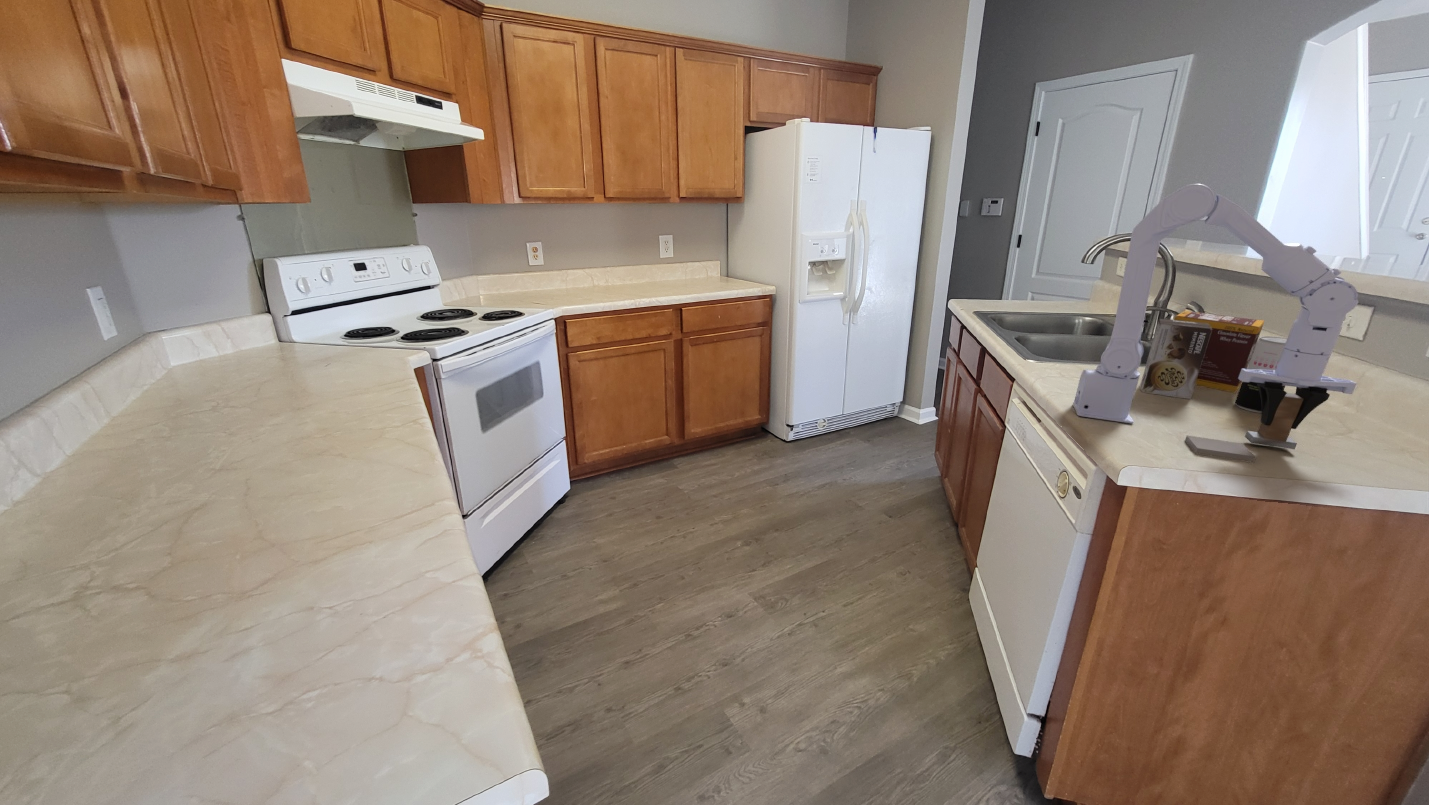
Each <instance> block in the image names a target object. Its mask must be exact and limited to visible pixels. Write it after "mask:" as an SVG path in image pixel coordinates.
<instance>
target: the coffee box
mask: <svg viewBox="0 0 1429 805" xmlns="http://www.w3.org/2000/svg"><path fill="white" fill-rule="evenodd" d="M1211 332H1212V328H1211V326H1210V325H1209V324H1208V323H1199V322H1189V321H1179V320H1174V319H1165V318H1159V319H1158V321H1157V325H1156V329H1155V332H1154V335H1153V339H1152V342H1151V346H1150V350H1149V354H1148V355H1147V356H1148V357H1147V359H1146V360H1147V361H1146V362H1145V367H1144V371H1143V376H1142V378H1141V381H1140V384H1139V385H1140V390H1141V393H1146V394H1153V395H1161V396H1166V397H1171V398H1172V397H1174V398H1180V399H1185V400H1186V399H1187V400H1191V399H1192V396H1193V393H1194V391H1195V390H1194V389H1195V386H1196V385H1195V384H1196V380H1197V377H1198V374H1199V371H1200V367H1201V364H1202V361H1203V358H1204V355H1205V351H1206V348H1207V345H1208V342H1209V339H1210V335H1211Z"/></svg>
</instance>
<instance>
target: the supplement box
mask: <svg viewBox="0 0 1429 805" xmlns="http://www.w3.org/2000/svg"><path fill="white" fill-rule="evenodd" d="M1173 320H1179V321H1189V322H1199V323H1208V324H1209V325H1210V326H1211V328H1212V332H1211V335H1210V339H1209V342H1208V345H1207V348H1206V351H1205V355H1204V358H1203V361H1202V364H1201V367H1200V371H1199V374H1198V377H1197V380H1196V384H1195V386H1199V387H1204V388H1209V389H1216V390H1220V391H1225V392H1229V393H1236V392H1237V391H1238V390H1239V389H1240V387H1241V384H1242V381H1241V380H1239V379H1238V377H1239V375H1240V372H1241V369H1247V367H1248V365H1249V362H1250V359H1251V356H1252V353H1253V351H1254V348H1255V345H1256V342H1257V340H1258V339H1259V337H1260V334H1261V332H1262V329H1263V326H1264V323H1265V320H1261V319H1254V318H1245V317H1237V316H1230V315H1223V314H1222V315H1221V314H1214V313H1208V312H1207V313H1205V312H1199V311H1191V310H1184V311H1183V310H1182V312H1180V313H1178V314H1176V315H1175V316H1174V319H1173Z"/></svg>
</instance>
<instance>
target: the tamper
mask: <svg viewBox="0 0 1429 805" xmlns="http://www.w3.org/2000/svg"><path fill="white" fill-rule="evenodd" d="M1285 392H1286V393H1287V394H1286V395H1285V397H1284V398H1283V400H1282V401H1281V403H1280V404H1279V406H1278V408H1277V410H1276V413H1275V416H1274V419H1273V422H1272V423H1271V425H1270V426H1268V425H1264V424H1263V423H1262V422H1261V421H1260V424H1259V426H1258V429H1257V431H1251V430H1246V432H1245V435H1244V438H1246V440H1248V441H1249V443H1250V444H1256V445H1262V446H1268V447H1269V446H1270V447H1276V448H1283V449H1290V450H1295V449H1296V447H1297V445H1298V442H1296V441H1295V439H1293V438H1291V437H1290V436H1289V435H1290V433H1291V431H1292V429H1291V427H1292V424H1293V422H1294V420H1295V419H1296V416H1297V414H1298V411H1299V409H1300V407H1301V404H1302V402H1303V398H1301V397H1300V396H1298V395H1297V394H1295V393H1296V392H1295V393H1294V392H1287V391H1285Z"/></svg>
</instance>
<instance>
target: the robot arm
mask: <svg viewBox="0 0 1429 805" xmlns="http://www.w3.org/2000/svg"><path fill="white" fill-rule="evenodd" d="M1204 218H1206V219H1205V220H1204V221H1203V222H1204V224H1207V225H1211V226H1216V227H1222V228H1224V229H1226V230H1228V231H1229V232H1230V233H1231V234H1233V235H1234V236H1235V237H1237V238H1238V239H1239V240H1240V241H1242V242H1243V243H1244V244H1245V245H1247V246H1248V247H1249V248H1251V250H1253V251H1254V252H1255V253H1257V254H1258V255H1259V256H1260V257H1262V264H1261V270H1262V271H1263V272H1264V273H1265V274H1266V275H1268V276H1269V278H1271V279H1272V280H1273V281H1274V282H1276V283H1277V284H1278V285H1279V286H1280V287H1282V288H1283V289H1284V290H1285V291H1287V292H1288V293H1289V294H1290V295H1291V296H1297V297H1299V298H1298V299H1299V303H1300V304H1301V305H1302V306H1300V309H1299V311H1298V314H1297V317H1296V319H1295V320H1293V323H1292V325H1291V328H1290V331H1289V334H1288V335H1287V337H1286V338H1287V341H1286V344H1285V346H1284V349H1283V351H1282V354H1281V357H1280V359H1279V362H1278V364H1277V367H1276V370H1256V369H1241V372H1240V375H1239V377H1238V379H1239V380H1241V381H1242V382H1257V386H1258V389H1259V393H1260V398H1261V406H1262V413H1260V414H1261V416H1260V423H1261V422H1262V423H1263V424H1264V425H1268V426H1270V425H1271V423H1272V422H1273V419H1274V416H1275V413H1276V410H1277V408H1278V406H1279V404H1280V403H1281V401H1282V400H1283V398H1284V397H1285V395H1286V394H1287V393H1288V392H1287V391H1285V389H1284V390H1283V387H1282V385H1284V386H1285V387H1286V386H1287V387H1292V388H1293V387H1294V388H1295V394H1297V395H1298V396H1300V397H1301V398H1303V402H1302V404H1301V407H1300V409H1299V411H1298V414H1297V416H1296V419H1295V420H1294V422H1293V424H1292V427H1291V430H1296V429H1297V428H1298V427H1299V425H1300V424H1301V423H1302V422H1303V420H1304V419H1305V418H1306V417H1307V416H1308V415H1309V414H1310V413H1311V412H1312V411H1314V410H1315V409H1316V408H1317V407H1319V406H1320V405H1322V404H1323V403H1325V402H1326V401H1328V400H1329V398H1330V397H1331V396H1330V395H1331V394H1330V393H1328V391H1329V392H1339V393H1343V394H1348V395H1353V393H1354V391H1355V389H1356V386H1357V382H1355V381H1352V380H1351V379H1344V378H1337V377H1331V376H1324V373H1325V370H1326V367H1327V365H1328V363H1329V360H1330V358H1331V356H1332V353H1333V352H1334V348H1335V345H1336V344H1337V342H1338V340H1339V336H1340V334H1341V331H1342V328H1343V323H1344V322H1345V319H1346V317H1347V314H1348V313H1349V312H1352V310H1354V309H1355V308H1356V307H1357V305H1358V304H1359V302H1360V301H1359V300H1358V297H1359V295H1358V290H1357V288H1356V287H1355V286H1354V285H1353V284H1351V283H1350V282H1348V281H1346V279H1345V278H1343V277H1341V276H1339V275H1341V274H1342V271H1340V270H1339V269H1338V268H1336V267H1335V268H1333V269H1332V268H1331V267H1329V266H1328V264H1326V263H1325V262H1323V261H1322V260H1321V259H1320V258H1319V257H1317V256H1316V255H1315V253H1317V249H1315V248H1314V247H1313V246H1311V245H1307V246H1304V245H1302V244H1301V243H1297V242H1296V243H1295V242H1294V243H1283V242H1282V241H1281V240H1279V239H1278V237H1276V236H1275V235H1274V234H1272V233H1271V232H1270V231H1269V230H1268V229H1267V228H1266V227H1264V226H1263V224H1261V223H1260V222H1259V221H1258V220H1257V219H1255V218H1254V217H1253V216H1252V215H1251V214H1250V213H1249V212H1248V211H1246V210H1245V209H1244V208H1243V207H1242V206H1240V205H1239V204H1237V203H1235V202H1234V201H1232V200H1230V199H1229V198H1227V197H1226V196H1224V195H1221V194H1219V193H1216V194H1215V193H1214V190H1212V189H1211V188H1210V187H1209V186H1207V185H1205V184H1203V183H1202V184H1201V183H1191V184H1188V185H1184V186H1182V187H1180V188H1178V189H1177V190H1175V191H1173V192H1171V193H1170V194H1168V195H1166V196H1164V197H1163V198H1162V199H1161V200H1160V201H1159V202H1158V204H1156V205H1155V206H1154V207H1153V208H1152V209H1151V210H1150V211H1149V212H1148V213H1147V214H1146V215H1145V216H1144V217H1143V218H1142V219H1141V220H1140V221H1139V222H1138V223H1137V224H1136V225H1135V227H1134V228H1133V230H1132V232H1131V236H1130V242H1129V247H1128V252H1127V256H1126V263H1125V267H1124V272H1123V278H1122V283H1121V288H1120V292H1119V293H1120V294H1119V299H1118V304H1117V310H1116V315H1115V319H1114V323H1113V324H1114V325H1113V329H1112V333H1111V336H1110V340H1109V342H1108V343H1107V344H1106V346H1105V350H1103V353H1102V354H1101V357H1100V364H1099V365H1097V366H1096V369H1083V370H1082V372H1081V374H1080V377H1079V380H1078V385H1077V389H1076V392H1075V396H1074V400H1073V402H1072V405H1073V407H1074V410H1075V412H1076V415H1077V416H1079V417H1084V418H1091V419H1098V420H1104V421H1111V422H1118V423H1119V422H1120V423H1126V424H1134V422H1135V421H1134V419H1133V418H1132V417H1131V415H1130V410H1131V407H1132V404H1133V399H1134V397H1135V393H1136V389H1137V386H1138V383H1139V380H1140V376H1141V373H1140V371H1139V370H1138V369H1139V368H1140V366H1141V363H1142V357H1143V356H1144V353H1145V352H1144V351H1145V350H1144V349H1145V348H1144V346H1143V343H1142V341H1141V339H1142V338H1141V337H1142V332H1143V326H1144V320H1145V317H1146V312H1147V307H1148V302H1149V297H1150V291H1151V287H1152V283H1153V278H1154V272H1155V267H1156V263H1157V260H1158V259H1157V258H1158V253H1159V249H1160V244H1161V241H1163V239H1165V238H1167V237H1169V236H1170V235H1172V234H1173V233H1174V232H1176V231H1177V230H1178V229H1179V228H1183V227H1185V226H1189V225H1190V224H1193V223H1196V222H1199V221H1200V220H1202V219H1204ZM1286 392H1287V393H1286Z"/></svg>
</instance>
